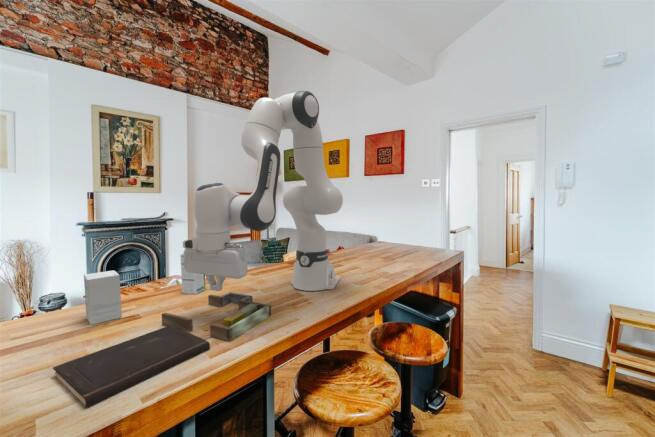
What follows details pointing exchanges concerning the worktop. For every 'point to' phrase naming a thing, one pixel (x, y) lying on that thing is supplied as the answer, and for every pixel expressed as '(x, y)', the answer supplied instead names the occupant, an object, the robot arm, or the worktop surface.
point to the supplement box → (102, 296)
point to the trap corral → (220, 330)
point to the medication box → (240, 314)
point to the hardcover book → (128, 363)
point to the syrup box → (191, 280)
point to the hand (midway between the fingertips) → (216, 290)
